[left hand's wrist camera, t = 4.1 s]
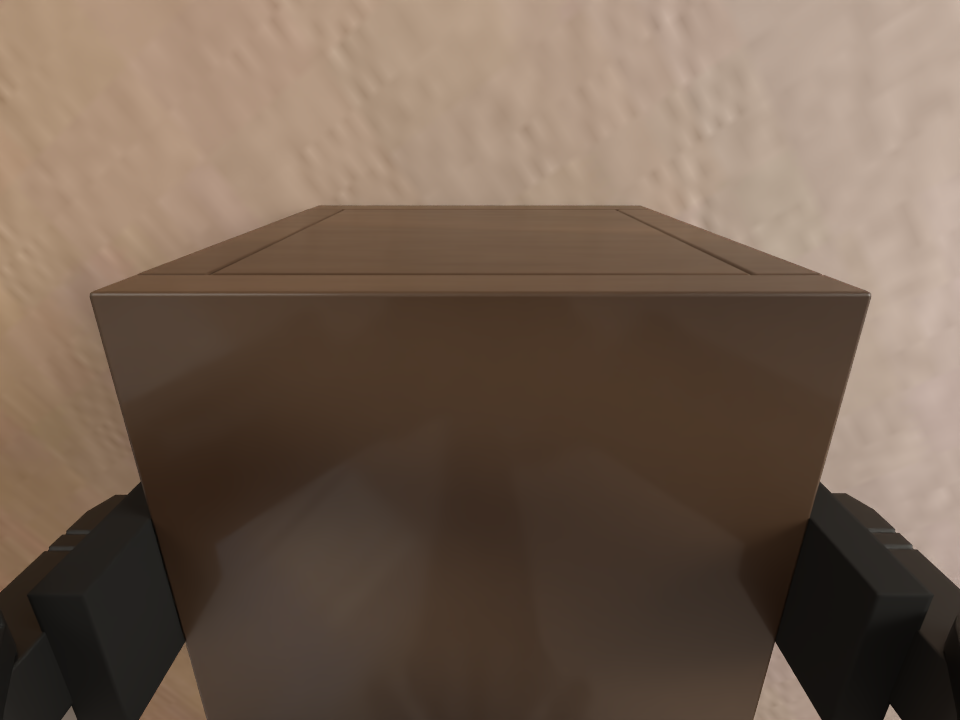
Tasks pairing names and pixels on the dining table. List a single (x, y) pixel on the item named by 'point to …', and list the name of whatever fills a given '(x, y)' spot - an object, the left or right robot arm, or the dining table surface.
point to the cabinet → (480, 459)
